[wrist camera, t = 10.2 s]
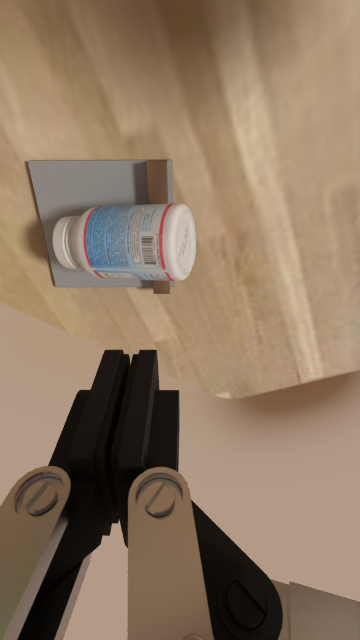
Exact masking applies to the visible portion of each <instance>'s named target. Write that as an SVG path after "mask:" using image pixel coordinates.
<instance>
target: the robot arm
mask: <svg viewBox="0 0 360 640" xmlns="http://www.w3.org/2000/svg"><path fill="white" fill-rule="evenodd" d="M178 462H179V390H159V376H158V359H157V350H140V351H139V354H133V357H132V361H131V365H130V357H129V354H124V353H123V350H105V351H104V354H103V356H102V359H101V362H100V365H99V368H98V371H97V373H96V376H95V379H94V382H93V385H92V388H91V390H80V391H79V392H78V393H77V395H76V397H75V400H74V402H73V405H72V407H71V410H70V412H69V415H68V417H67V420H66V422H65V425H64V427H63V430H62V433H61V435H60V437H59V440H58V442H57V445H56V448H55V450H54V453H53V455H52V458H51V460H50V462H49V465H48V466H44V467H40V468H36V469H34V470H32V471H30V472H28V473H27V474H25V475H24V476H23V477H22V478H20V479H19V480H18V481H17V482H16V484H15V485H14V486H13V487H12V489H11V490H10V492H9V494H8V495H7V497H6V498H5V500H4V501H3V503H2V505H1V506H0V640H63V637H64V634H65V631H66V629H67V626H68V623H69V620H70V617H71V614H72V611H73V608H74V606H75V602H76V600H77V597H78V594H79V591H80V588H81V585H82V583H83V580H84V577H85V574H86V571H87V568H88V565H89V563H90V558H91V554H92V552H93V550H95V549H96V548H97V547H98V546H99V545H100V544H101V540H102V535H106V536H109V535H110V531H111V526H112V523H118V521H119V519H120V524H121V528H122V533H123V538H124V542H125V545H126V547H127V548H128V640H360V602H358V601H355V600H351V599H348V598H345V597H341V596H338V595H334V594H331V593H328V592H324V591H321V590H317V589H314V588H311V587H307V586H304V585H301V584H297V583H294V582H290V583H289V585H288V584H284V583H281V582H278V581H274V580H271V579H269V578H268V576H267V575H266V574H265V573H264V572H263V571H262V570H261V569H260V568H259V567H258V566H257V565H256V564H255V563H254V562H253V561H252V560H251V559H250V558H249V557H248V556H247V555H246V554H245V553H244V552H243V551H242V550H241V549H240V548H239V547H238V546H237V545H236V544H235V543H234V542H233V541H232V540H231V539H230V538H229V537H228V536H227V535H226V534H225V533H224V532H223V531H222V530H221V529H220V528H219V527H218V526H217V525H216V524H215V523H214V522H213V521H212V520H211V519H210V518H209V517H208V516H207V515H206V514H205V513H204V512H203V511H202V510H201V509H200V508H199V507H198V506H197V505H196V504H195V503H194V502H193V501H192V500H191V497H190V491H189V488H188V485H187V482H186V481H185V479H184V478H183V477H182V475H181V474H179V473H178Z"/></svg>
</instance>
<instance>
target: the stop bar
mask: <svg viewBox="0 0 360 640" xmlns="http://www.w3.org/2000/svg"><path fill="white" fill-rule="evenodd" d="M147 176H148V195H149V205H150V204H168V178H167V160H148V161H147ZM153 290H154V294H170V281H162V280H153Z"/></svg>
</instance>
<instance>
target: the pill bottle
mask: <svg viewBox="0 0 360 640" xmlns="http://www.w3.org/2000/svg"><path fill="white" fill-rule="evenodd" d="M53 248H54V252H55V255H56V257H57V259H58V261H59V262H60V263H61V264H62V265H63V266H64V267H66V268H68V269H77V270H85V271H86V272H87V273H89V274H90V275H92V276H94V277H97V278H111V279H136V280H162V281H181V280H184V279H185V278H187V276H188V275H189V273H190V271H191V269H192V266H193V263H194V260H195V254H196V233H195V225H194V220H193V216H192V214H191V211H190V210H189V208H188V207H187V206H186V205H184V204H181V203H170V204H150V205H127V206H104V207H94V208H90V209H88V210H87V211H86V212H84V213H83V214H82V215H81V217H80V216H70V217H63V218H61V219H60V220H59V221H58V222H57V224H56V226H55V228H54V231H53Z"/></svg>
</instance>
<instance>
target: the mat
mask: <svg viewBox="0 0 360 640" xmlns="http://www.w3.org/2000/svg"><path fill="white" fill-rule="evenodd" d="M147 161H148V160H30V161H28V165H29V169H30V174H31V178H32V183H33V187H34V192H35V196H36V200H37V205H38V209H39V214H40V218H41V223H42V227H43V232H44V236H45V241H46V245H47V250H48V254H49V258H50V263H51V267H52V272H53V276H54V281H55V285H56V287H153V280H136V279H111V278H97V277H94V276H92V275H90V274H89V273H87V272H86V271H85V270H77V269H68V268H66V267H64V266H63V265H62V264H61V263H60V262H59V261H58V259H57V257H56V255H55V252H54V248H53V231H54V228H55V226H56V224H57V222H58V221H59V220H60V219H61V218H63V217H70V216H80V217H81V215H82V214H83V213H84V212H86V211H87V210H88V209H90V208H94V207H104V206H127V205H149V195H148V176H147ZM167 178H168V204H170V203H173V195H172V160H167ZM170 287H174V281H170Z"/></svg>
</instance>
